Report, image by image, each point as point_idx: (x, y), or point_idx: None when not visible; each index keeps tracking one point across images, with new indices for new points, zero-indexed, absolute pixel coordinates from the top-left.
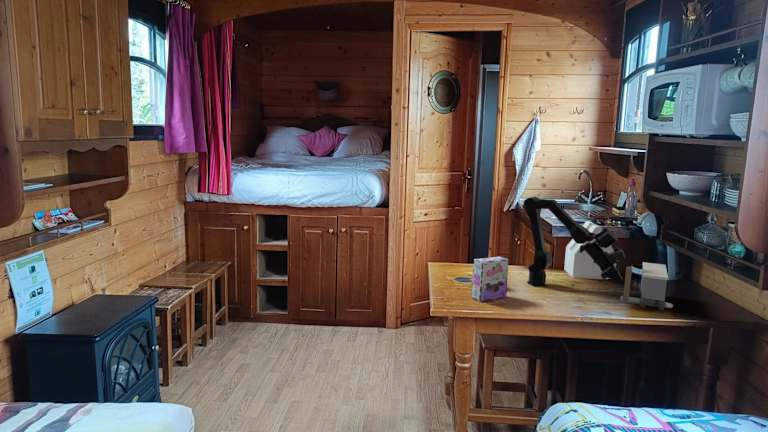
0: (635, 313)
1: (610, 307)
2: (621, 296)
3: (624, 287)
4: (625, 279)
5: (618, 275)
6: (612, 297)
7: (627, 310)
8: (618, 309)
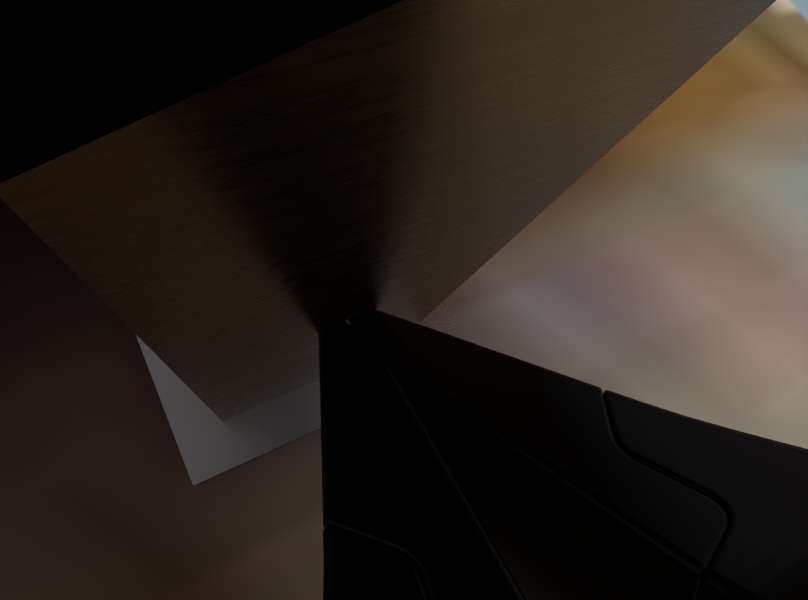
0: (702, 69)
1: (779, 349)
2: (238, 448)
3: (448, 294)
4: (539, 206)
5: (726, 460)
6: (318, 580)
7: (692, 163)
8: (754, 249)
